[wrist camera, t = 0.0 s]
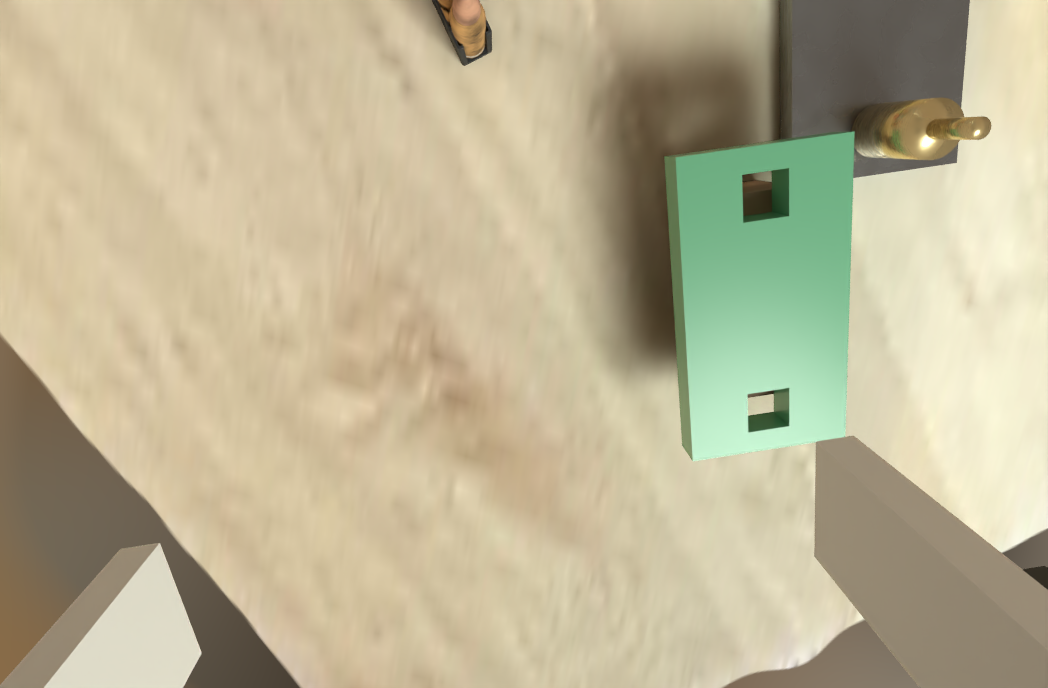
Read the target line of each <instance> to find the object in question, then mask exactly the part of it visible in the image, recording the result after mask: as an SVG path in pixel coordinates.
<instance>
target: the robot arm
mask: <svg viewBox="0 0 1048 688" xmlns="http://www.w3.org/2000/svg"><path fill="white" fill-rule="evenodd" d="M814 556H815V558H816V559H817V560H818V561H819V563H820V564H821V565H822V566H823V568H824V569H825V570H826V571H827V573H828V574H829V575H830V576H831V578H832V579H833V580H834V581H835V583H836V584H837V585H838V586H839V588H840V589H841V590H842V591H843V593H844V594H845V595H846V596H847V598H848V599H849V600H850V601H851V603H852V604H853V605H854V606H855V608H856V609H857V610H858V611H859V613H860V614H861V615H862V616H863V618H864V619H865V620H866V621H867V623H868V624H869V625H870V626H871V628H872V629H873V630H874V631H875V632H876V634H877V635H878V636H879V638H880V639H881V640H882V641H883V643H884V644H885V645H886V646H887V648H888V649H889V650H890V651H891V653H892V654H893V655H894V656H895V657H896V659H897V660H898V661H899V663H900V664H901V665H902V666H903V668H904V669H905V670H906V671H907V673H908V674H909V675H910V676H911V678H912V679H913V680H914V681H915V683H916V684H917V685H918V686H919V687H920V688H1048V568H1047V567H1045V566H1041V567H1035V568H1029V569H1023V570H1022V569H1021V568H1019V567H1018V566H1017V565H1016V564H1014V563H1013V562H1012V561H1011V560H1009V559H1008V558H1007V557H1006V556H1004V555H1003V554H1002V553H1001V552H999V551H998V550H997V549H996V548H994V547H993V546H992V545H991V544H989V543H988V542H987V541H986V540H984V539H983V538H982V537H981V536H979V535H978V534H977V533H975V532H974V531H973V530H972V529H970V528H969V527H968V526H967V525H965V524H964V523H963V522H962V521H960V520H959V519H958V518H957V517H955V516H954V515H953V514H952V513H950V512H949V511H948V510H947V509H945V508H944V507H943V506H941V505H940V504H939V503H938V502H936V501H935V500H934V499H933V498H931V497H930V496H929V495H928V494H926V493H925V492H924V491H923V490H921V489H920V488H919V487H918V486H916V485H915V484H914V483H912V482H911V481H910V480H909V479H907V478H906V477H905V476H904V475H902V474H901V473H900V472H899V471H897V470H896V469H895V468H894V467H892V466H891V465H890V464H889V463H887V462H886V461H885V460H884V459H882V458H881V457H880V456H878V455H877V454H876V453H875V452H873V451H872V450H871V449H870V448H868V447H867V446H866V445H865V444H863V443H862V442H861V441H860V440H858V439H857V438H856V437H855V436H848V437H842V438H835V439H829V440H822V441H816V478H815V549H814ZM200 655H201V650H200V648H199V645H198V643H197V640H196V637H195V634H194V632H193V629H192V627H191V624H190V621H189V619H188V616H187V613H186V611H185V608H184V605H183V603H182V600H181V598H180V595H179V593H178V590H177V588H176V585H175V582H174V579H173V577H172V574H171V571H170V569H169V566H168V563H167V561H166V558H165V556H164V553H163V550H162V548H161V545H160V543H156V544H149V545H143V546H137V547H130V548H124V549H120V550H119V551H118V553H117V554H116V555H115V556H114V557H113V558H112V559H111V560H110V562H109V563H108V564H107V565H106V566H105V567H104V568H103V569H102V571H101V572H100V573H99V574H98V575H97V576H96V577H95V579H94V580H93V581H92V582H91V583H90V584H89V585H88V586H87V588H86V589H85V590H84V591H83V592H82V593H81V594H80V596H79V597H78V598H77V599H76V600H75V601H74V603H72V605H71V606H70V607H69V608H68V609H67V610H66V611H65V612H64V614H63V615H62V616H61V617H60V618H59V619H58V620H57V621H56V623H55V624H54V625H53V626H52V627H51V628H50V629H49V631H48V632H47V633H46V634H45V635H44V636H43V637H42V639H41V640H40V641H39V642H38V643H37V644H36V645H35V646H34V648H33V649H32V650H31V651H30V652H29V653H28V654H27V655H26V657H25V658H24V659H23V660H22V661H21V662H20V663H19V665H18V666H17V667H16V668H15V669H14V670H13V671H12V672H11V674H10V675H9V676H8V677H7V678H6V679H5V680H4V682H3V683H2V684H1V685H0V688H183V686H184V684H185V683H186V681H187V679H188V677H189V675H190V673H191V671H192V670H193V668H194V666H195V664H196V662H197V661H198V659H199V657H200Z"/></svg>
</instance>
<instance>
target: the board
mask: <svg viewBox="0 0 1048 688" xmlns="http://www.w3.org/2000/svg"><path fill="white" fill-rule="evenodd" d="M854 133H855V131H852V132H829V133H822V134H815V135H809V136H802V137H795V138H788V139H781V140H774V141H767V142H760V143H753V144H747V145H740V146H733V147H726V148H719V149H712V150H705V151H698V152H691V153H685V154H678V155H671V156H664V159H665V175H666V191H667V208H668V224H669V240H670V256H671V272H672V288H673V304H674V320H675V336H676V352H677V368H678V384H679V401H680V417H681V433H682V446H683V447H684V449H685V450H686V452H687V453H688V455H689V456H690V458H691V459H692V461H698V460H704V459H711V458H717V457H724V456H730V455H737V454H743V453H750V452H756V451H763V450H769V449H776V448H782V447H789V446H795V445H801V444H808V443H814V442H816V441H822V440H829V439H835V438H842V437H845V429H846V396H847V363H848V330H849V297H850V265H851V232H852V199H853V166H854ZM765 171H772V212H768V213H761V214H754V215H747V216H743V191H742V175H745V174H751V173H758V172H765ZM772 390H774V412H770V413H763V414H757V415H750V416H748V396H747V394H752V393H759V392H765V391H772Z"/></svg>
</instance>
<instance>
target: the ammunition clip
mask: <svg viewBox="0 0 1048 688" xmlns="http://www.w3.org/2000/svg"><path fill="white" fill-rule="evenodd" d="M432 2H433V4H434V6H435V8H436V10H437V12H438V14H439V16H440V18H441V21H442V23H443V25H444V27H445V29H446V31H447V33H448V35H449V37H450V40H451V42H452V44H453V46H454V48H455V50H456V52H457V54H458V56H459V58H460V61H461V63H462V65H464V66H466V65H467V64H469V63H471V62H473V61H475V60H477V59H479V58H481V57H483V56H485V55H486V54H488V53H490V52H491V51H492V31H491V29H490V26H489V24H488V22H487V20H486V17H485V11H484V9H483V7H482V5H481V4H480V1H479V0H432Z"/></svg>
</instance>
